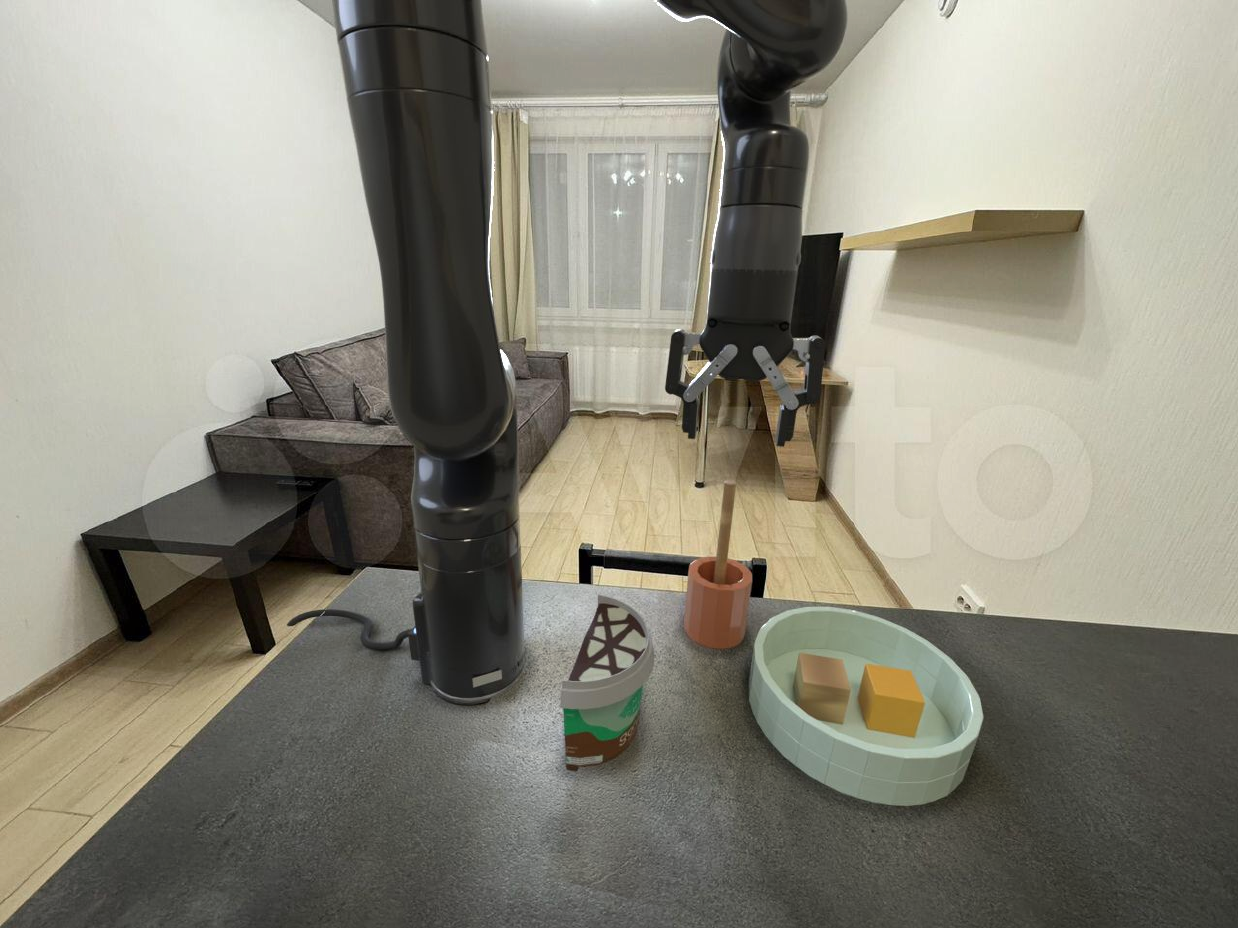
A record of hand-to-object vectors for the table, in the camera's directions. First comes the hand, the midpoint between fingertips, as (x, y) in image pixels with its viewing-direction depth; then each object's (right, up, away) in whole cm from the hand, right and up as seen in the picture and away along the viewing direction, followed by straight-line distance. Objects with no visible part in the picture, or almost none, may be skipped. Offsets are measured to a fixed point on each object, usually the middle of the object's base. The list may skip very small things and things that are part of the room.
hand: (734, 440), depth 52 cm
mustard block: (+13, -26, -4) cm, 29 cm away
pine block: (+7, -25, -2) cm, 26 cm away
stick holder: (-1, -22, +8) cm, 23 cm away
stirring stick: (-1, -21, +8) cm, 22 cm away
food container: (-12, -26, -5) cm, 29 cm away
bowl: (+10, -26, -3) cm, 28 cm away
